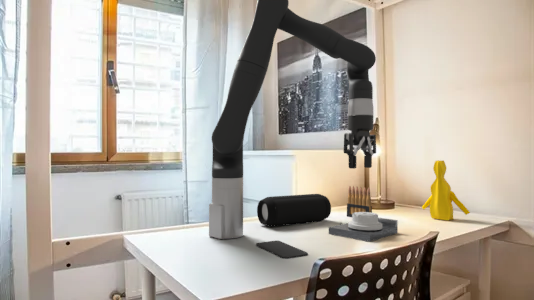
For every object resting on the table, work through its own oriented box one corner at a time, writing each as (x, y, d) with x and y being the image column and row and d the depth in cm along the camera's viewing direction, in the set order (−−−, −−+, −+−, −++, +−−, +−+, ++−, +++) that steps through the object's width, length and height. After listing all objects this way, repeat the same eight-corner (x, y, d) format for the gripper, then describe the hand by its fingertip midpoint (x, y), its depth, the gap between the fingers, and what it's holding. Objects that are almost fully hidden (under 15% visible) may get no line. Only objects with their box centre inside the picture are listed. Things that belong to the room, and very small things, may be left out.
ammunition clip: (346, 216, 144) (346, 185, 144) (349, 215, 145) (349, 185, 145) (369, 220, 135) (369, 187, 135) (372, 219, 136) (372, 187, 137)
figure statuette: (472, 221, 133) (472, 160, 133) (463, 224, 128) (462, 160, 128) (424, 215, 147) (424, 159, 147) (414, 217, 142) (414, 160, 142)
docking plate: (369, 241, 102) (369, 227, 102) (328, 233, 112) (328, 220, 112) (397, 233, 113) (397, 220, 113) (357, 226, 123) (357, 214, 123)
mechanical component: (377, 232, 104) (386, 227, 113) (377, 217, 104) (386, 212, 113) (343, 229, 109) (354, 223, 118) (343, 214, 110) (354, 209, 118)
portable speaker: (316, 218, 139) (316, 192, 139) (332, 223, 131) (332, 194, 131) (255, 224, 127) (255, 195, 127) (269, 230, 118) (269, 198, 119)
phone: (283, 257, 85) (254, 243, 98) (283, 261, 85) (254, 246, 98) (310, 253, 89) (278, 240, 102) (310, 257, 89) (278, 243, 102)
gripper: (362, 117, 120) (362, 167, 120) (336, 113, 110) (336, 168, 110) (383, 115, 115) (383, 168, 114) (358, 111, 105) (358, 169, 105)
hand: (360, 168), depth 112 cm, fingers open, 8 cm apart
